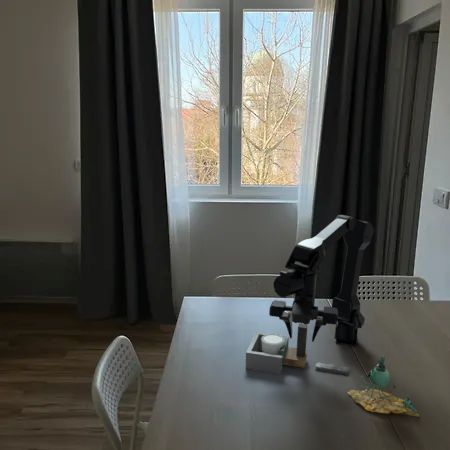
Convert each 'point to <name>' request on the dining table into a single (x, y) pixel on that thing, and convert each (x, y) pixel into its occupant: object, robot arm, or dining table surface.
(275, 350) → the white cylinder
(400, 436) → the dining table surface
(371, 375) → the gold and teal figure
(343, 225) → the robot arm
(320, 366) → the rail
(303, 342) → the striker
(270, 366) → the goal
